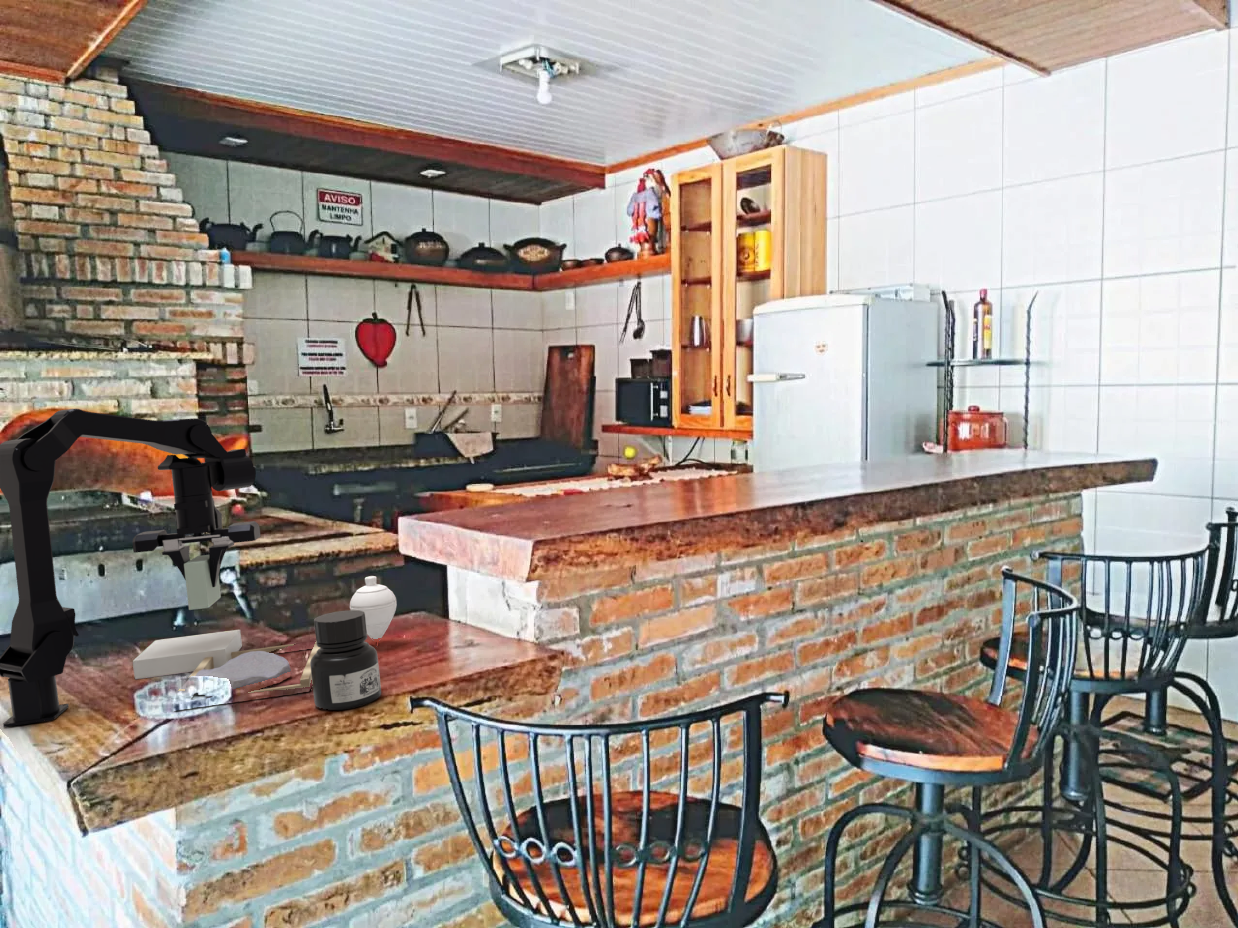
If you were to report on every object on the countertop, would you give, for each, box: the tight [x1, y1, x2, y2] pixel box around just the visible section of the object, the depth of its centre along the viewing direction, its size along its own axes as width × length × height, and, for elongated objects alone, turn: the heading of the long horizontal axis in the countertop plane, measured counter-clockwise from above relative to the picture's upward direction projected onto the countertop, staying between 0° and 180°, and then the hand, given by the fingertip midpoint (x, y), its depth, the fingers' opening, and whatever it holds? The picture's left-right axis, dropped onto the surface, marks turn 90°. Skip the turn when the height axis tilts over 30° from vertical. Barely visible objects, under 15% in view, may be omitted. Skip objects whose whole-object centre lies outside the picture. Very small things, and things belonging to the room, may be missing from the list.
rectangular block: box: [184, 554, 222, 611], centre depth 157 cm, size 9×3×8 cm, turn 11°
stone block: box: [196, 651, 292, 689], centre depth 142 cm, size 12×5×10 cm
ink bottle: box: [310, 609, 382, 711], centre depth 130 cm, size 10×9×12 cm
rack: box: [177, 642, 320, 693], centre depth 147 cm, size 27×18×2 cm
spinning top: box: [349, 575, 398, 640], centre depth 159 cm, size 8×8×12 cm
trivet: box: [132, 629, 243, 680], centre depth 159 cm, size 14×14×3 cm
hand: (203, 587), depth 157 cm, fingers closed on rectangular block, 3 cm apart
